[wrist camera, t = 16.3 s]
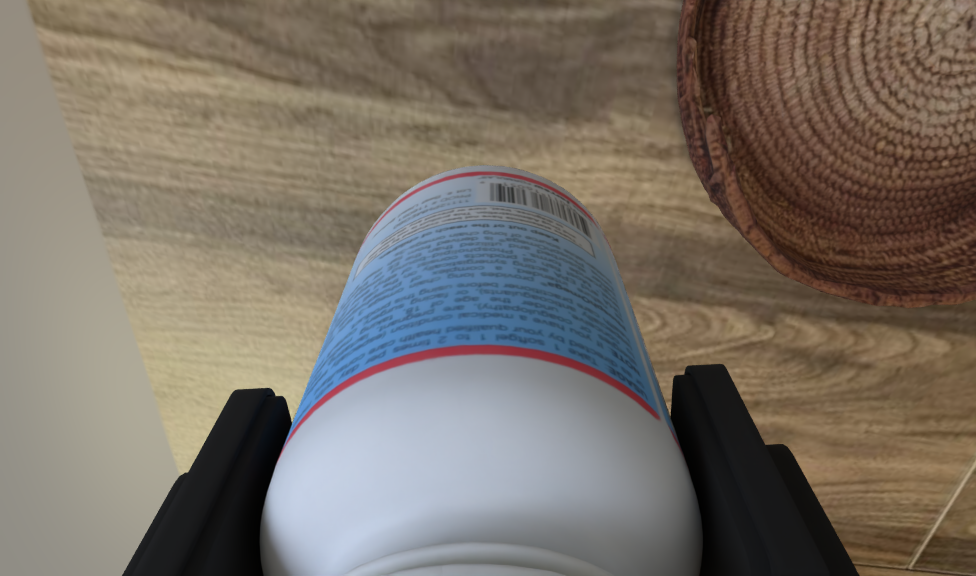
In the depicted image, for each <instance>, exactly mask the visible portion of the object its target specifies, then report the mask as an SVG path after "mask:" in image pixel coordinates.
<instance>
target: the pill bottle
mask: <svg viewBox="0 0 976 576" xmlns="http://www.w3.org/2000/svg"><path fill="white" fill-rule="evenodd" d="M702 551H703V532H702V520H701V514H700V509H699V504H698V499H697V496H696V492H695V489H694V486H693V483H692V480H691V476H690V472H689V469H688V466H687V463H686V461H685V457H684V454H683V451H682V449H681V447H680V444H679V441H678V438H677V435H676V432H675V429H674V426H673V423H672V420H671V418H670V415H669V412H668V409H667V406H666V403H665V400H664V398H663V395H662V392H661V389H660V386H659V383H658V380H657V378H656V375H655V372H654V369H653V366H652V363H651V360H650V357H649V355H648V352H647V349H646V346H645V343H644V339H643V338H642V335H641V332H640V329H639V326H638V323H637V320H636V317H635V315H634V312H633V309H632V306H631V303H630V301H629V298H628V295H627V292H626V289H625V287H624V284H623V281H622V278H621V275H620V272H619V269H618V266H617V263H616V261H615V258H614V255H613V253H612V250H611V247H610V245H609V243H608V240H607V238H606V236H605V234H604V233H603V231H602V229H601V227H600V225H599V224H598V222H597V221H596V220H595V218H594V217H593V216H592V214H591V213H590V212H589V211H588V210H587V208H586V207H585V206H584V205H583V204H582V203H581V202H580V201H578V200H577V199H576V198H575V197H574V196H573V195H571V194H570V193H569V192H568V191H566V190H565V189H563V188H562V187H560V186H558V185H557V184H555V183H553V182H552V181H550V180H548V179H545V178H543V177H541V176H538V175H536V174H533V173H530V172H527V171H523V170H520V169H516V168H510V167H504V166H489V165H480V166H469V167H462V168H457V169H453V170H449V171H446V172H443V173H440V174H437V175H435V176H433V177H430V178H428V179H426V180H424V181H422V182H420V183H418V184H417V185H415V186H414V187H412V188H411V189H409V190H408V191H406V192H405V193H404V194H402V195H401V196H400V197H399V198H398V199H396V200H395V201H394V202H393V203H392V204H391V205H390V206H389V207H388V208H387V209H386V210H385V211H384V212H383V213H382V215H381V216H380V217H379V218H378V220H377V221H376V222H375V223H374V225H373V226H372V228H371V229H370V231H369V232H368V234H367V236H366V237H365V239H364V242H363V244H362V246H361V248H360V250H359V252H358V254H357V257H356V259H355V262H354V264H353V267H352V270H351V273H350V275H349V278H348V281H347V283H346V286H345V289H344V291H343V294H342V296H341V299H340V302H339V304H338V307H337V309H336V312H335V315H334V317H333V320H332V323H331V325H330V328H329V330H328V333H327V336H326V338H325V341H324V344H323V346H322V349H321V351H320V354H319V356H318V359H317V361H316V364H315V366H314V369H313V372H312V374H311V377H310V379H309V382H308V384H307V387H306V390H305V392H304V395H303V397H302V400H301V403H300V405H299V408H298V410H297V413H296V416H295V418H294V421H293V423H292V426H291V428H290V431H289V434H288V436H287V439H286V441H285V444H284V447H283V449H282V452H281V454H280V456H279V459H278V461H277V464H276V466H275V469H274V473H273V476H272V479H271V482H270V485H269V488H268V491H267V495H266V499H265V503H264V507H263V511H262V518H261V525H260V555H261V565H262V570H263V575H264V576H699V574H700V569H701V561H702Z"/></svg>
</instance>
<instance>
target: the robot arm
mask: <svg viewBox="0 0 976 576" xmlns="http://www.w3.org/2000/svg"><path fill="white" fill-rule="evenodd" d="M671 420H672V423H673V426H674V429H675V432H676V435H677V438H678V441H679V444H680V447H681V449H682V451H683V454H684V457H685V461H686V463H687V466H688V469H689V472H690V476H691V480H692V483H693V486H694V489H695V492H696V496H697V499H698V504H699V509H700V514H701V520H702V532H703V551H702V561H701V569H700V574H699V576H859V574H858V572H857V570H856V568H855V567H854V565H853V563H852V561H851V559H850V557H849V556H848V554H847V552H846V550H845V548H844V547H843V545H842V543H841V541H840V539H839V537H838V536H837V534H836V532H835V530H834V528H833V526H832V525H831V523H830V521H829V519H828V517H827V516H826V514H825V512H824V510H823V508H822V506H821V505H820V503H819V501H818V499H817V497H816V496H815V494H814V492H813V490H812V488H811V486H810V485H809V483H808V481H807V479H806V477H805V476H804V474H803V472H802V470H801V468H800V466H799V465H798V463H797V461H796V459H795V457H794V456H793V454H792V452H791V451H790V450H789V448H788V447H787V446H785V445H783V444H773V445H765V444H764V442H763V440H762V438H761V436H760V434H759V432H758V430H757V428H756V426H755V424H754V422H753V420H752V418H751V416H750V414H749V412H748V410H747V408H746V406H745V404H744V402H743V400H742V398H741V396H740V394H739V392H738V390H737V388H736V386H735V384H734V382H733V381H732V379H731V377H730V375H729V373H728V371H727V369H726V367H725V366H724V365H723V364H711V365H692V366H687V367H686V369H685V374H684V375H675V376H674V379H673V389H672V404H671ZM291 426H292V421H291V417H290V414H289V410H288V406H287V402H286V400H285V398H284V397H283V396H275V393H274V392H273V390H272V389H270V388H257V389H238V390H235V391H233V393H232V394H231V395H230V397H229V399H228V401H227V403H226V405H225V406H224V408H223V410H222V412H221V414H220V416H219V417H218V419H217V421H216V423H215V425H214V426H213V428H212V430H211V432H210V434H209V436H208V437H207V439H206V441H205V443H204V445H203V446H202V448H201V450H200V452H199V454H198V456H197V457H196V459H195V461H194V463H193V465H192V466H191V468H190V470H189V472H188V473H184V474H183V475H181V476H179V478H178V479H177V480H176V482H175V483H174V485H173V487H172V488H171V490H170V492H169V493H168V495H167V497H166V499H165V501H164V502H163V504H162V506H161V508H160V509H159V511H158V513H157V515H156V516H155V518H154V520H153V522H152V524H151V525H150V527H149V529H148V531H147V533H146V534H145V536H144V538H143V539H142V541H141V543H140V545H139V547H138V548H137V550H136V552H135V554H134V555H133V557H132V559H131V561H130V563H129V564H128V566H127V568H126V570H125V571H124V573H123V575H122V576H264V575H263V570H262V565H261V555H260V525H261V518H262V511H263V507H264V503H265V499H266V495H267V491H268V488H269V485H270V482H271V479H272V476H273V473H274V469H275V466H276V464H277V461H278V459H279V456H280V454H281V452H282V449H283V447H284V444H285V441H286V439H287V436H288V434H289V431H290V428H291Z"/></svg>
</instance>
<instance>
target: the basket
mask: <svg viewBox="0 0 976 576" xmlns="http://www.w3.org/2000/svg"><path fill="white" fill-rule="evenodd" d="M677 95H678V102H679V108H680V114H681V120H682V127H683V131H684V135H685V138H686V142H687V146H688V150H689V154H690V158H691V160H692V163H693V165H694V168H695V170H696V172H697V174H698V176H699V178H700V180H701V182H702V184H703V187H704V189H705V190H706V191H707V192H708V195H709V198H710V201H711V202H713V203H714V204H716V205H717V206H718V207H719V209H720V211H721V212H722V214H723V215H724V216H725V218H726V219H727V220H728V221H729V222H730V223H731V224H732V225H733V226H734V227H735V228H736V229H737V230H738V231H739V232H740V234H741V235H742V236H743V237H744V238H745V239H746V240H747V241H748V242H749V243H750V244H751V245H752V246H753V247H754V248H755V250H756V251H757V252H758V253H759V254H760V255H761V256H762V257H763V258H764V259H765V260H766V261H767V262H768V263H769V264H770V265H771V266H772V267H773V268H774V269H775V270H776V271H777V272H779V273H781V274H782V275H784V276H786V277H788V278H790V279H793V280H795V281H798V282H800V283H802V284H805V285H807V286H810V287H812V288H814V289H817V290H819V291H821V292H825V293H828V294H831V295H835V296H838V297H842V298H846V299H850V300H854V301H858V302H862V303H867V304H871V305H876V306H897V307H905V308H913V307H924V306H928V305H957V304H960V303H964V302H968V301H971V300H975V299H976V0H683V5H682V10H681V16H680V21H679V30H678V43H677Z"/></svg>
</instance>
